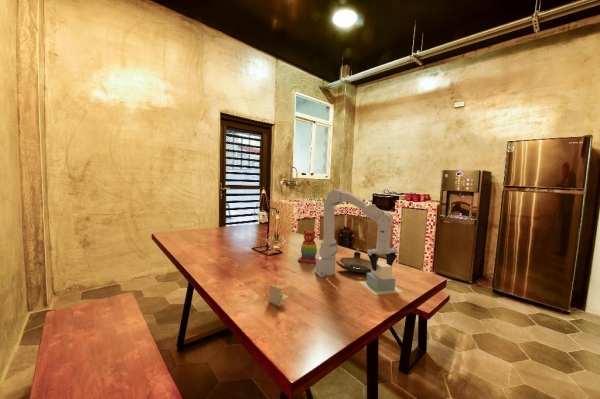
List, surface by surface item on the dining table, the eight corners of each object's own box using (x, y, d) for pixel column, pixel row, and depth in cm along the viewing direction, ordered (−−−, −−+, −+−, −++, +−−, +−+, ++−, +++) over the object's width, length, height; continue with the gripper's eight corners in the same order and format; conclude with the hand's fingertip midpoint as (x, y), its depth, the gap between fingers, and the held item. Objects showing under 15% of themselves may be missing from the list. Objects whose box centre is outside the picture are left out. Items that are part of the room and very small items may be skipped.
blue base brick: (377, 291, 112) (377, 280, 112) (366, 283, 121) (366, 272, 121) (394, 289, 115) (395, 278, 115) (382, 281, 124) (383, 271, 123)
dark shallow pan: (328, 273, 135) (329, 258, 135) (349, 259, 160) (350, 246, 160) (370, 284, 123) (371, 268, 123) (386, 267, 149) (387, 254, 148)
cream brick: (381, 279, 113) (382, 267, 113) (371, 273, 121) (371, 261, 120) (391, 278, 115) (392, 266, 114) (380, 272, 122) (381, 260, 122)
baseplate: (375, 297, 109) (375, 294, 109) (358, 283, 123) (358, 281, 123) (403, 294, 114) (403, 291, 113) (383, 281, 127) (384, 279, 127)
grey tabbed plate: (274, 299, 104) (275, 281, 104) (287, 305, 100) (288, 286, 99) (268, 302, 101) (269, 284, 101) (282, 308, 97) (282, 289, 97)
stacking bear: (296, 262, 150) (298, 231, 148) (301, 257, 160) (303, 228, 158) (315, 264, 147) (316, 233, 145) (319, 259, 157) (320, 230, 155)
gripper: (374, 242, 110) (372, 273, 111) (402, 241, 115) (400, 271, 116) (365, 239, 117) (363, 268, 118) (392, 238, 121) (390, 266, 122)
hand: (381, 269), depth 117 cm, fingers open, 7 cm apart
